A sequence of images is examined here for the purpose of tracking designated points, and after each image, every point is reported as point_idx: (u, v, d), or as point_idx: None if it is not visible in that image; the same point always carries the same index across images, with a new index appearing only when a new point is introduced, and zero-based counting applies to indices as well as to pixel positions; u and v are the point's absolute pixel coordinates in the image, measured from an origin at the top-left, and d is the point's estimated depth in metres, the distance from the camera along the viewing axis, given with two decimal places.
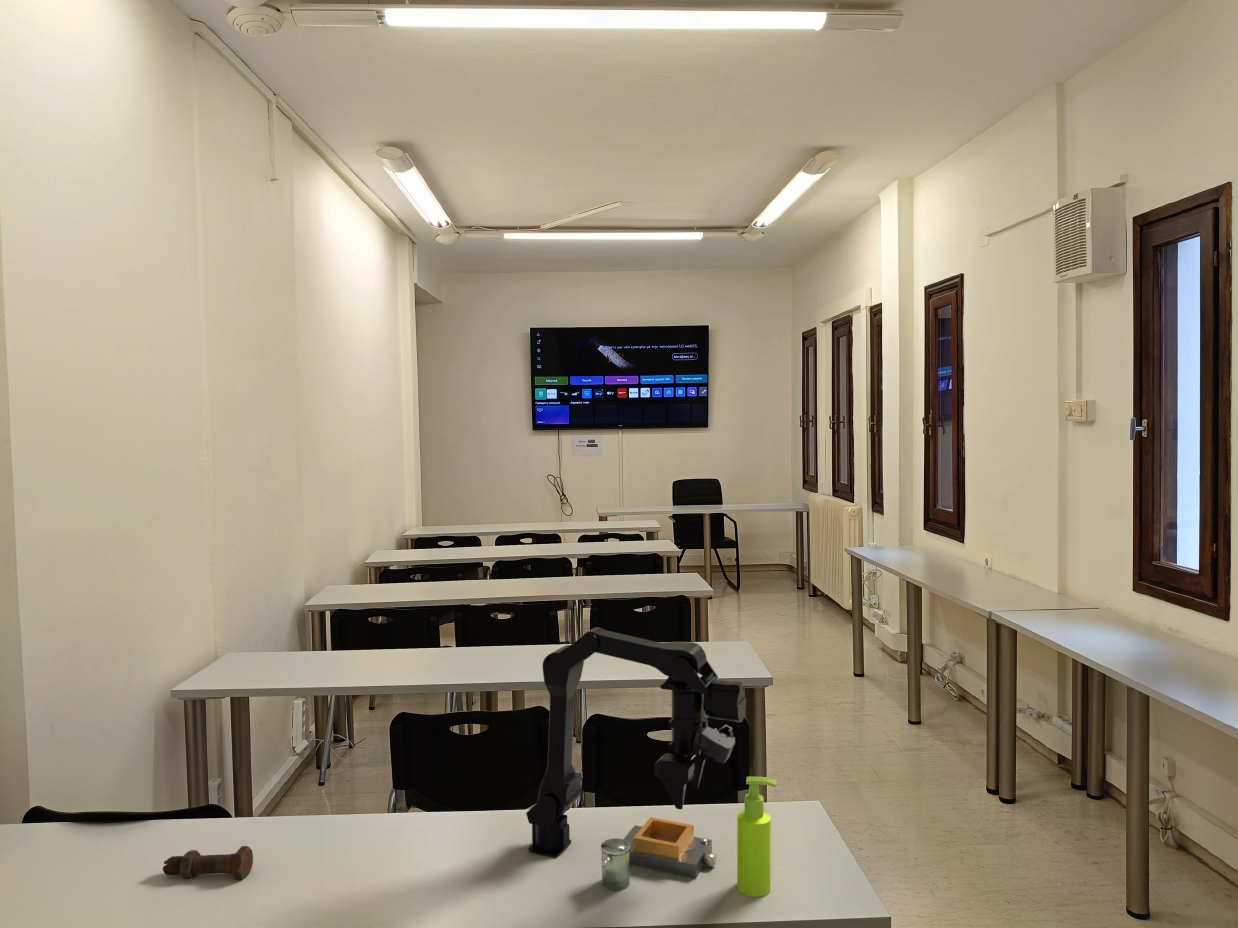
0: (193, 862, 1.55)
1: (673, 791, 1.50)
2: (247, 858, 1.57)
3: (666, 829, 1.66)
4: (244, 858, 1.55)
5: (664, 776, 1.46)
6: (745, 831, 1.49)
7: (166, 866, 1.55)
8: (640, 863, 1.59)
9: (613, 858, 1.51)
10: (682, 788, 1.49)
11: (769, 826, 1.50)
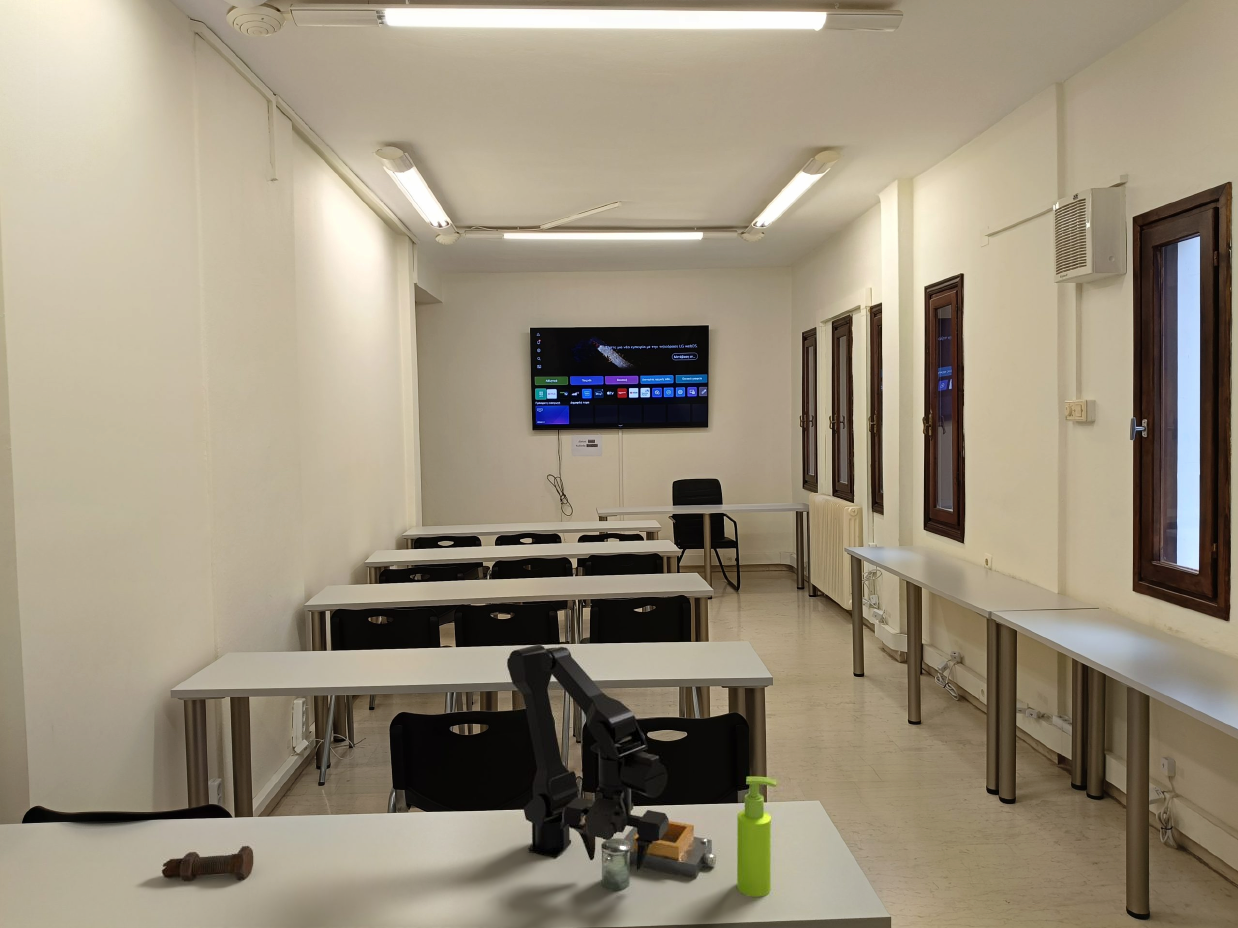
0: (193, 864, 1.55)
1: None
2: (249, 858, 1.57)
3: None
4: (245, 858, 1.56)
5: None
6: (745, 831, 1.49)
7: (165, 869, 1.54)
8: None
9: (613, 858, 1.51)
10: (581, 836, 1.55)
11: (769, 826, 1.50)
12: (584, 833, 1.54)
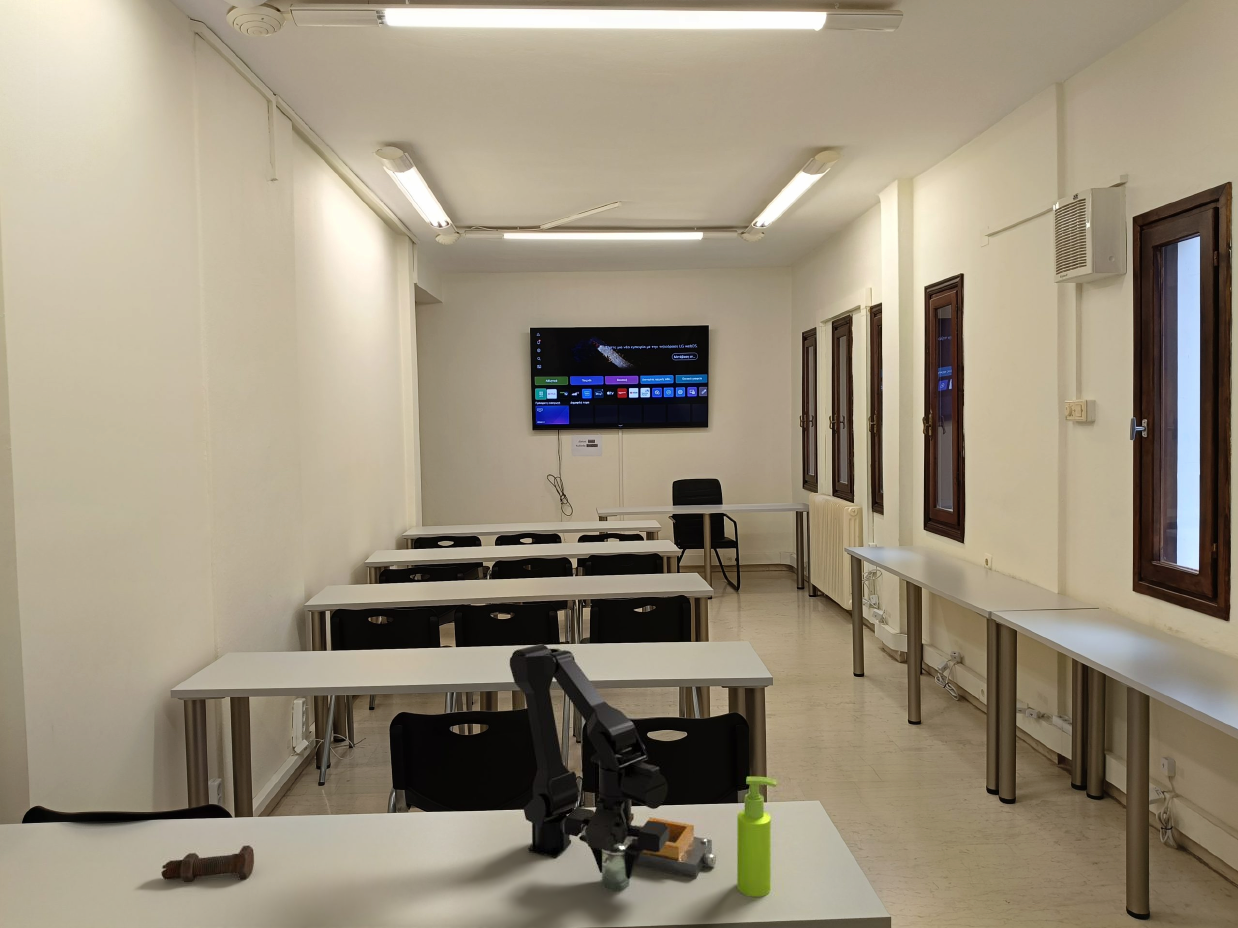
0: (194, 865, 1.55)
1: None
2: (250, 857, 1.57)
3: None
4: (247, 857, 1.56)
5: None
6: (745, 831, 1.49)
7: (165, 870, 1.54)
8: (640, 863, 1.59)
9: (613, 858, 1.51)
10: None
11: (769, 826, 1.50)
12: None
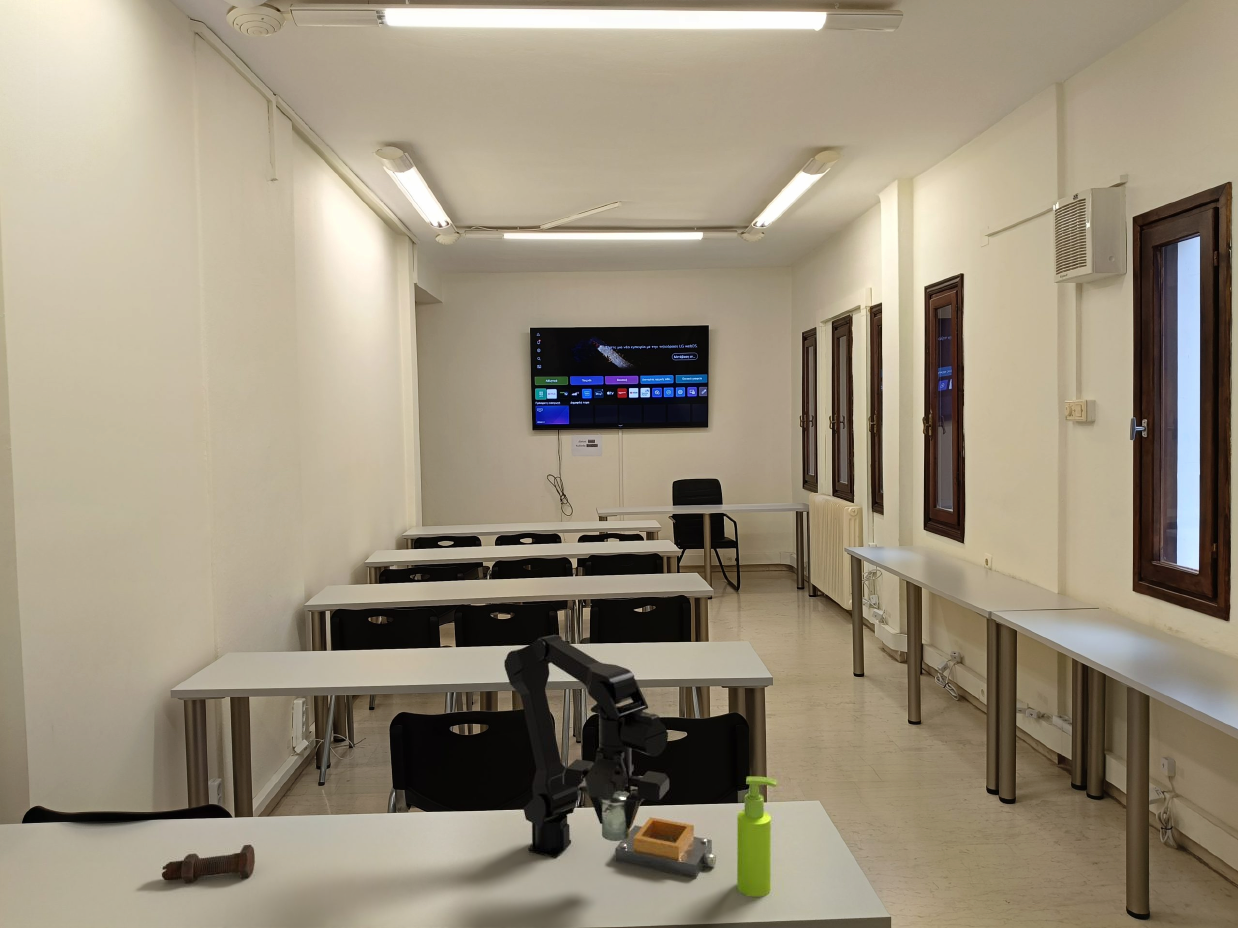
0: (195, 865, 1.54)
1: None
2: (251, 856, 1.58)
3: (666, 829, 1.66)
4: (249, 856, 1.56)
5: None
6: (745, 831, 1.49)
7: (166, 871, 1.53)
8: (640, 863, 1.59)
9: (613, 808, 1.50)
10: (591, 799, 1.53)
11: (769, 826, 1.50)
12: (594, 796, 1.52)
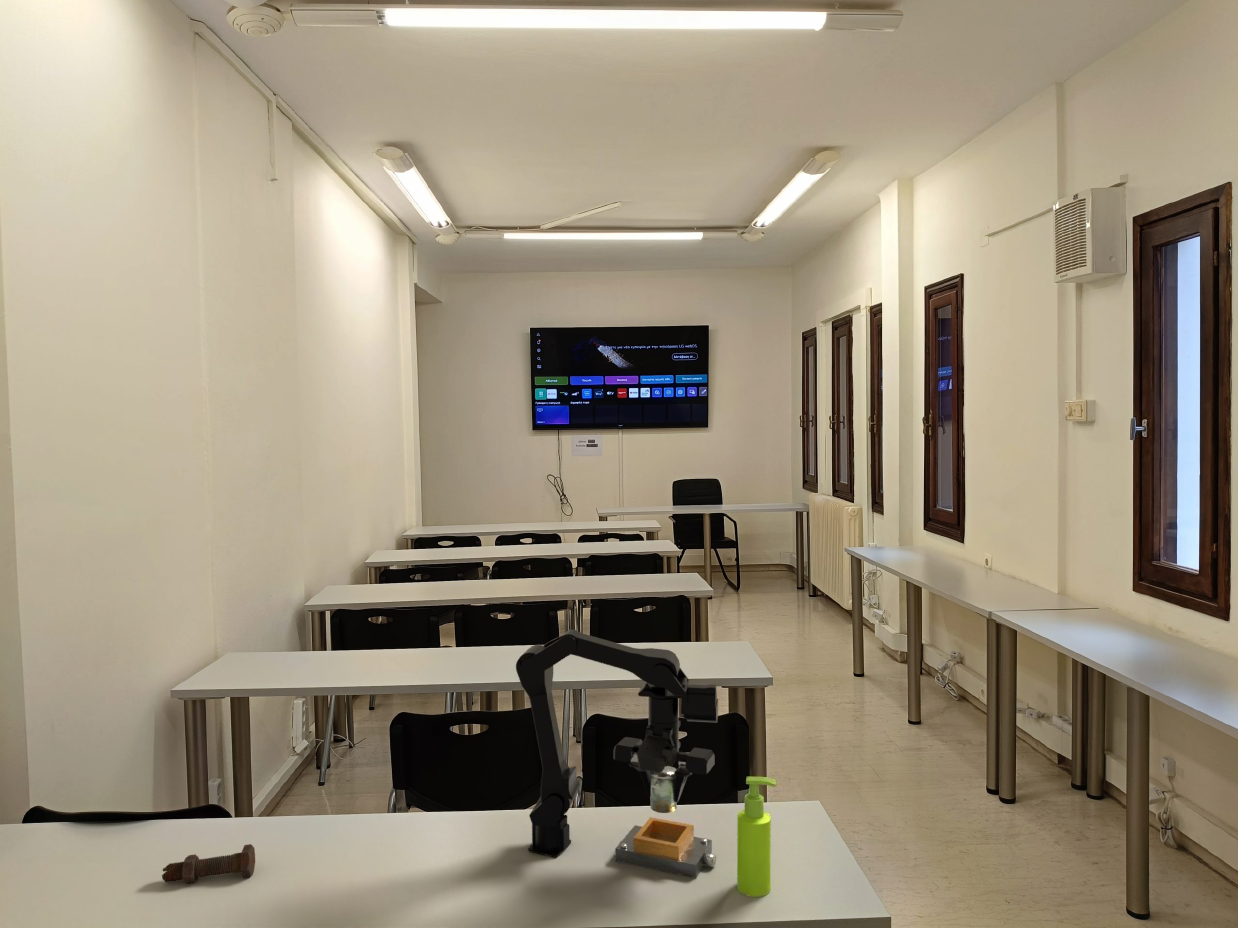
0: (196, 866, 1.54)
1: None
2: (252, 856, 1.58)
3: (666, 829, 1.66)
4: (250, 855, 1.56)
5: None
6: (745, 831, 1.49)
7: (166, 873, 1.53)
8: (640, 863, 1.59)
9: (662, 782, 1.59)
10: None
11: (769, 826, 1.50)
12: (643, 771, 1.61)
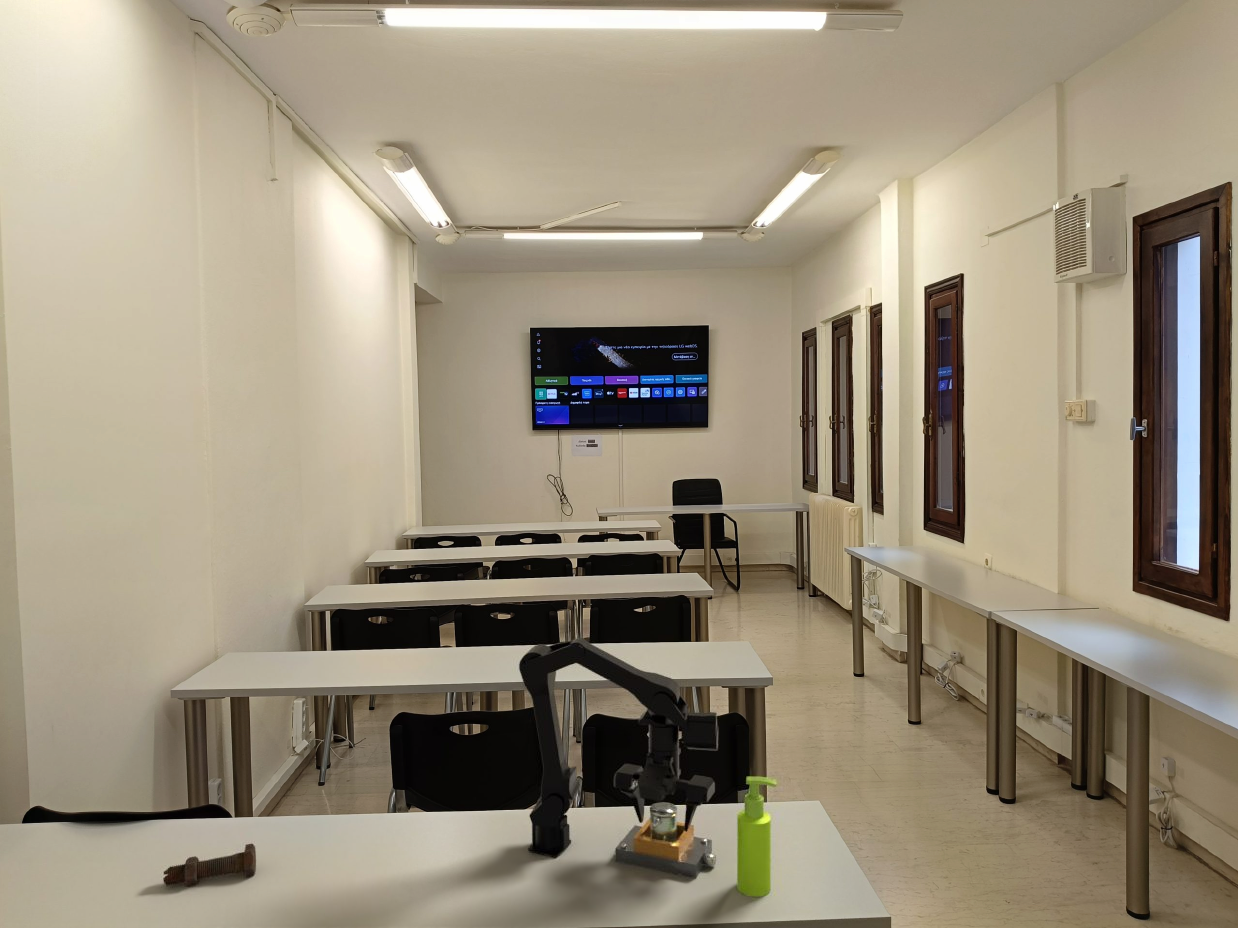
0: (198, 868, 1.54)
1: None
2: (254, 855, 1.58)
3: None
4: (253, 854, 1.57)
5: None
6: (745, 831, 1.49)
7: (167, 876, 1.52)
8: (640, 863, 1.59)
9: (662, 820, 1.60)
10: None
11: (769, 826, 1.50)
12: (634, 797, 1.63)
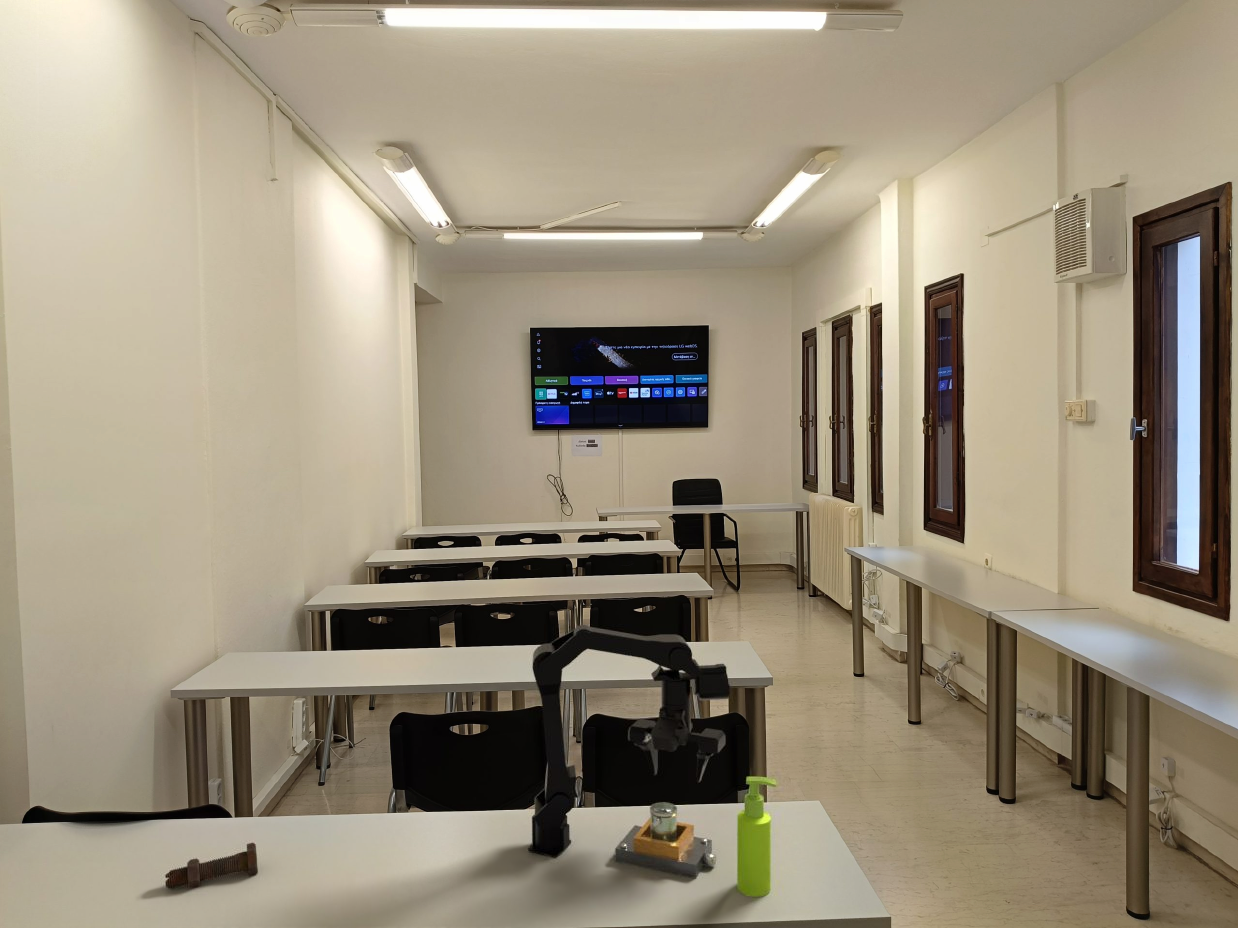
0: (201, 869, 1.53)
1: None
2: None
3: None
4: (256, 853, 1.57)
5: None
6: (745, 831, 1.49)
7: (170, 879, 1.51)
8: (640, 863, 1.59)
9: (662, 820, 1.60)
10: (645, 753, 1.70)
11: (769, 826, 1.50)
12: (648, 750, 1.69)
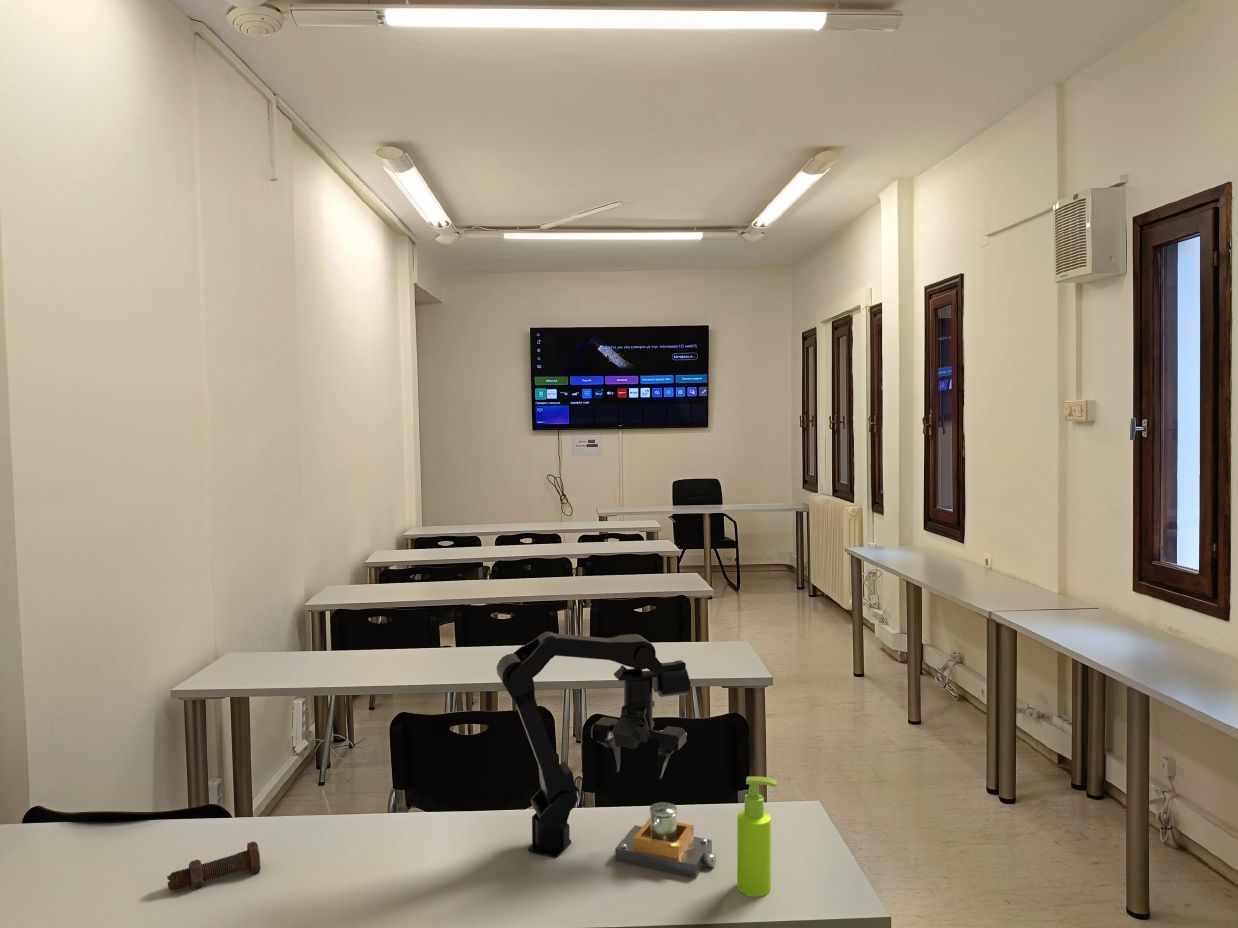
0: (203, 870, 1.53)
1: None
2: None
3: None
4: (258, 851, 1.58)
5: None
6: (745, 831, 1.49)
7: (173, 881, 1.50)
8: (640, 863, 1.59)
9: (662, 820, 1.60)
10: (608, 750, 1.73)
11: (769, 826, 1.50)
12: (610, 747, 1.72)
